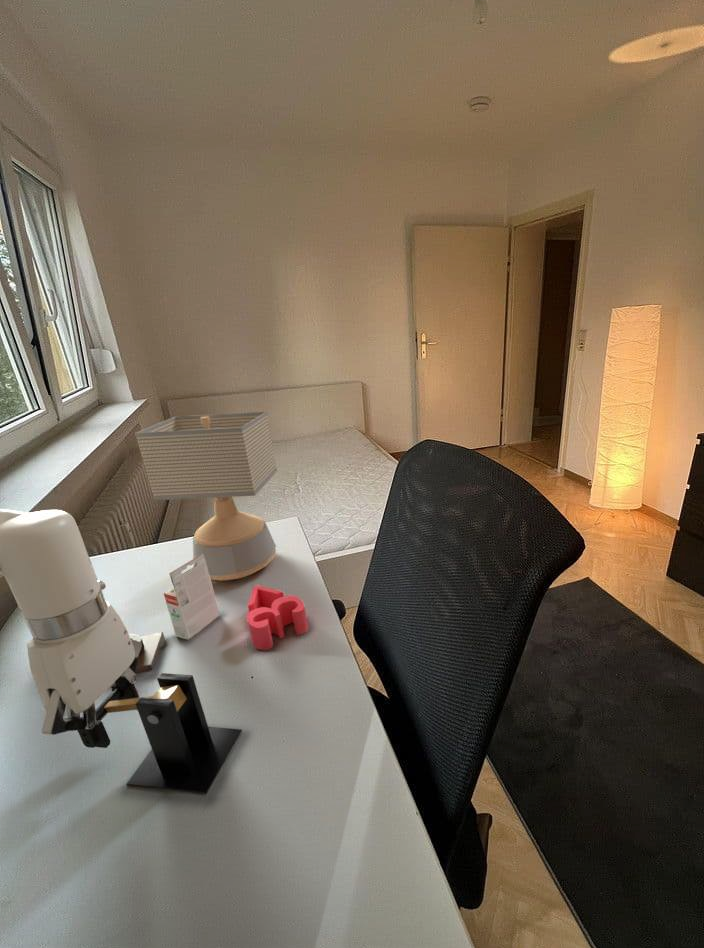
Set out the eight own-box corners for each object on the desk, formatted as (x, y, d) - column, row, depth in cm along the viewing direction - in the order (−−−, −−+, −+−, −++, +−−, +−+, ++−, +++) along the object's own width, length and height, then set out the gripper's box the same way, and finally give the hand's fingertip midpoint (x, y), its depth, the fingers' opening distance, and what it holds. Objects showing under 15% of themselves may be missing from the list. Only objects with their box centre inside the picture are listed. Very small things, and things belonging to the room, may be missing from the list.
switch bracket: (129, 790, 56) (97, 715, 52) (172, 729, 65) (149, 660, 60) (208, 799, 55) (183, 723, 50) (243, 735, 63) (224, 664, 58)
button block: (81, 691, 73) (73, 672, 71) (100, 654, 81) (93, 637, 79) (154, 674, 75) (148, 656, 74) (165, 640, 83) (160, 623, 82)
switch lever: (90, 731, 56) (80, 717, 55) (119, 699, 61) (110, 686, 60) (169, 722, 53) (160, 707, 53) (193, 690, 58) (185, 676, 57)
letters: (235, 615, 89) (230, 594, 87) (283, 596, 95) (280, 576, 93) (258, 653, 78) (253, 630, 77) (311, 629, 84) (308, 607, 82)
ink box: (175, 636, 84) (154, 570, 79) (207, 612, 91) (191, 549, 86) (188, 641, 83) (169, 574, 77) (221, 616, 89) (205, 552, 84)
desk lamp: (292, 545, 116) (268, 406, 103) (270, 586, 99) (237, 424, 85) (211, 548, 117) (177, 411, 104) (175, 589, 100) (128, 430, 86)
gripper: (96, 573, 61) (135, 676, 67) (-34, 663, 45) (33, 785, 52) (145, 574, 60) (180, 678, 66) (29, 667, 44) (89, 791, 51)
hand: (115, 724), depth 59 cm, fingers closed on switch lever, 5 cm apart
